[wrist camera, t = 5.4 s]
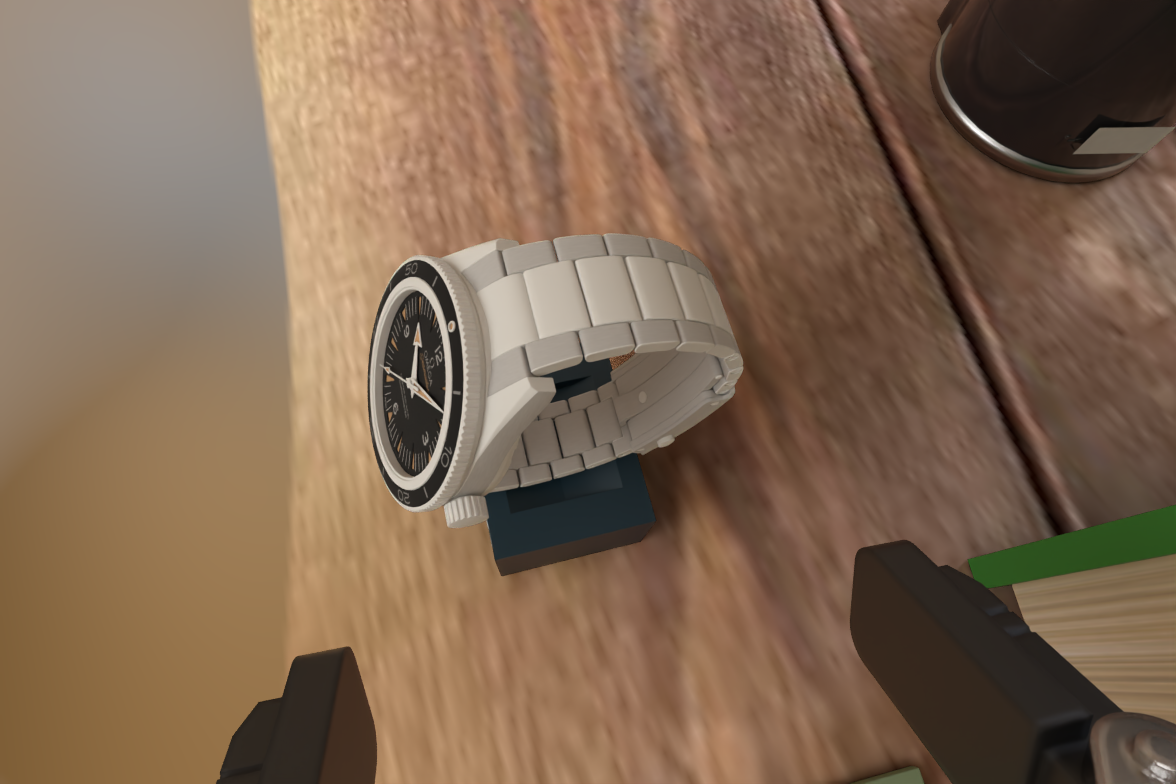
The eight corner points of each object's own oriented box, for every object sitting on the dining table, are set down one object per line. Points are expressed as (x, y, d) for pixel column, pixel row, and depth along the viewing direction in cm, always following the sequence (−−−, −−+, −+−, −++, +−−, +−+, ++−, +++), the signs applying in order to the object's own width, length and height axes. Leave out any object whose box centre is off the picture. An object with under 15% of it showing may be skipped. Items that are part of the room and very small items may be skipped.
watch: (406, 420, 22) (292, 203, 12) (645, 369, 23) (727, 134, 13) (436, 595, 20) (328, 517, 10) (695, 530, 21) (837, 401, 11)
